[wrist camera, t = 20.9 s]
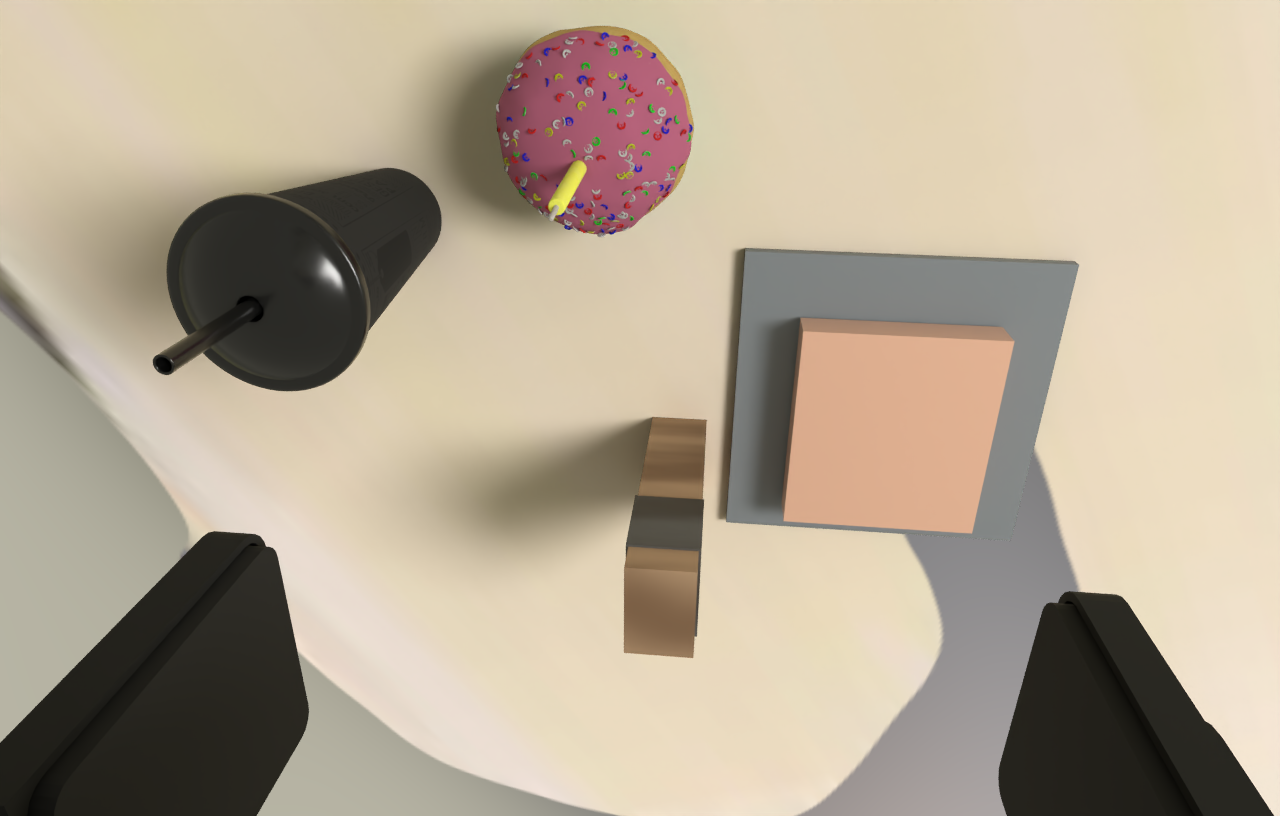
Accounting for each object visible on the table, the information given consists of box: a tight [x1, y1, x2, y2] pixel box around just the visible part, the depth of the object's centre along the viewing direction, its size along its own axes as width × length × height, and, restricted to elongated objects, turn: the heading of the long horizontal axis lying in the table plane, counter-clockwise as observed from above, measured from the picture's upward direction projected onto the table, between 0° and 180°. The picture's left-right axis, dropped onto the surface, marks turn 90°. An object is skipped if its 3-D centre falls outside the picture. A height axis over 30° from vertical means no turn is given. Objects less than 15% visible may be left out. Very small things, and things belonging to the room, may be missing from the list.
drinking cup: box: [153, 168, 441, 391], centre depth 35 cm, size 8×8×20 cm
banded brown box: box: [624, 417, 707, 658], centre depth 42 cm, size 5×3×14 cm
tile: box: [781, 318, 1015, 534], centre depth 44 cm, size 2×10×11 cm
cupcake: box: [496, 26, 694, 237], centre depth 35 cm, size 9×8×12 cm
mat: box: [726, 248, 1079, 541], centre depth 45 cm, size 16×16×1 cm
